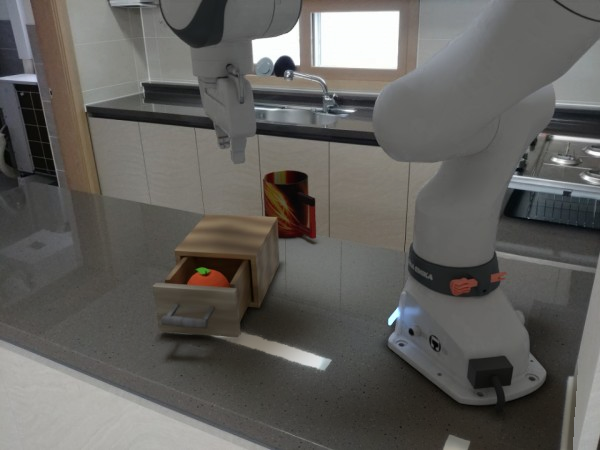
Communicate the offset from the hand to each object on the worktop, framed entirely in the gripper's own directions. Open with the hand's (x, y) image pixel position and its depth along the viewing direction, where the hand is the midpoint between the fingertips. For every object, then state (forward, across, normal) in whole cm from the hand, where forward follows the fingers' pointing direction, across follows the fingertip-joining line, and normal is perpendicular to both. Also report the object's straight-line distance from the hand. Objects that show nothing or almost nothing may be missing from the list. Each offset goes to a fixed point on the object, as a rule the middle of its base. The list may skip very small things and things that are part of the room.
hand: (230, 154), depth 83 cm
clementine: (+23, -5, +7) cm, 25 cm away
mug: (+25, +23, -18) cm, 38 cm away
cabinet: (+25, +6, 0) cm, 26 cm away
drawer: (+24, -5, +7) cm, 26 cm away
